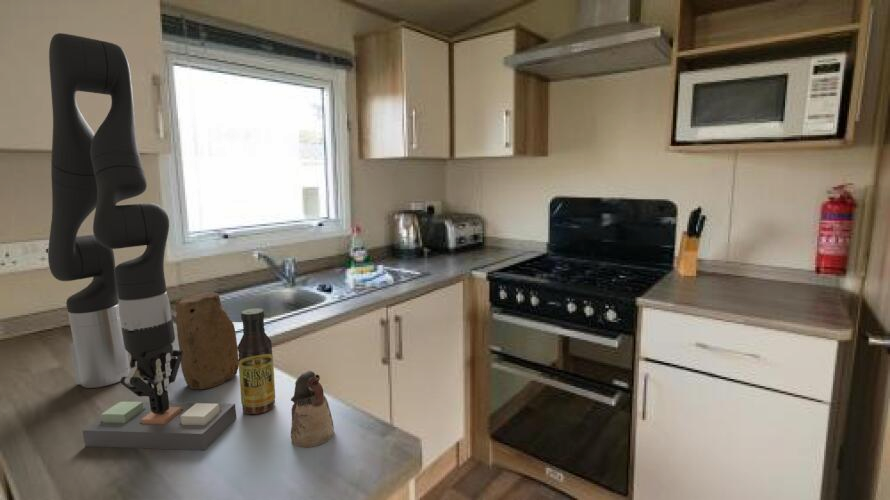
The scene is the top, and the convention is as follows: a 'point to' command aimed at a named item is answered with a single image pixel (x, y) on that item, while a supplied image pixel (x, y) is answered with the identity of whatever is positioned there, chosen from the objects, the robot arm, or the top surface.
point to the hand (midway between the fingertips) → (160, 411)
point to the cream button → (200, 414)
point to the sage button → (122, 412)
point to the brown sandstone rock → (206, 341)
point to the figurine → (310, 412)
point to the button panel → (160, 431)
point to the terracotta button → (161, 416)
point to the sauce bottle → (255, 364)
